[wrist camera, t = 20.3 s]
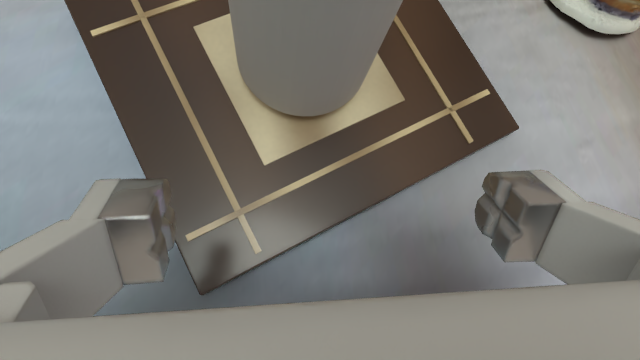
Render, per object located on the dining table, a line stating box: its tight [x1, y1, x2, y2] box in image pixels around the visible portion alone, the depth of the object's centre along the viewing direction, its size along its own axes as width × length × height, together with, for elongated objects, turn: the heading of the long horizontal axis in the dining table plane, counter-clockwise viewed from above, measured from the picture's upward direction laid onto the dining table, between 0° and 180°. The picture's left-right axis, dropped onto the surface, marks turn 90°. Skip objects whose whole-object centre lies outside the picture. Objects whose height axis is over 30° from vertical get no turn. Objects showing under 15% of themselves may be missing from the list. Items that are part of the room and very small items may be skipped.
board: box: [65, 0, 519, 295], centre depth 20 cm, size 18×16×1 cm
